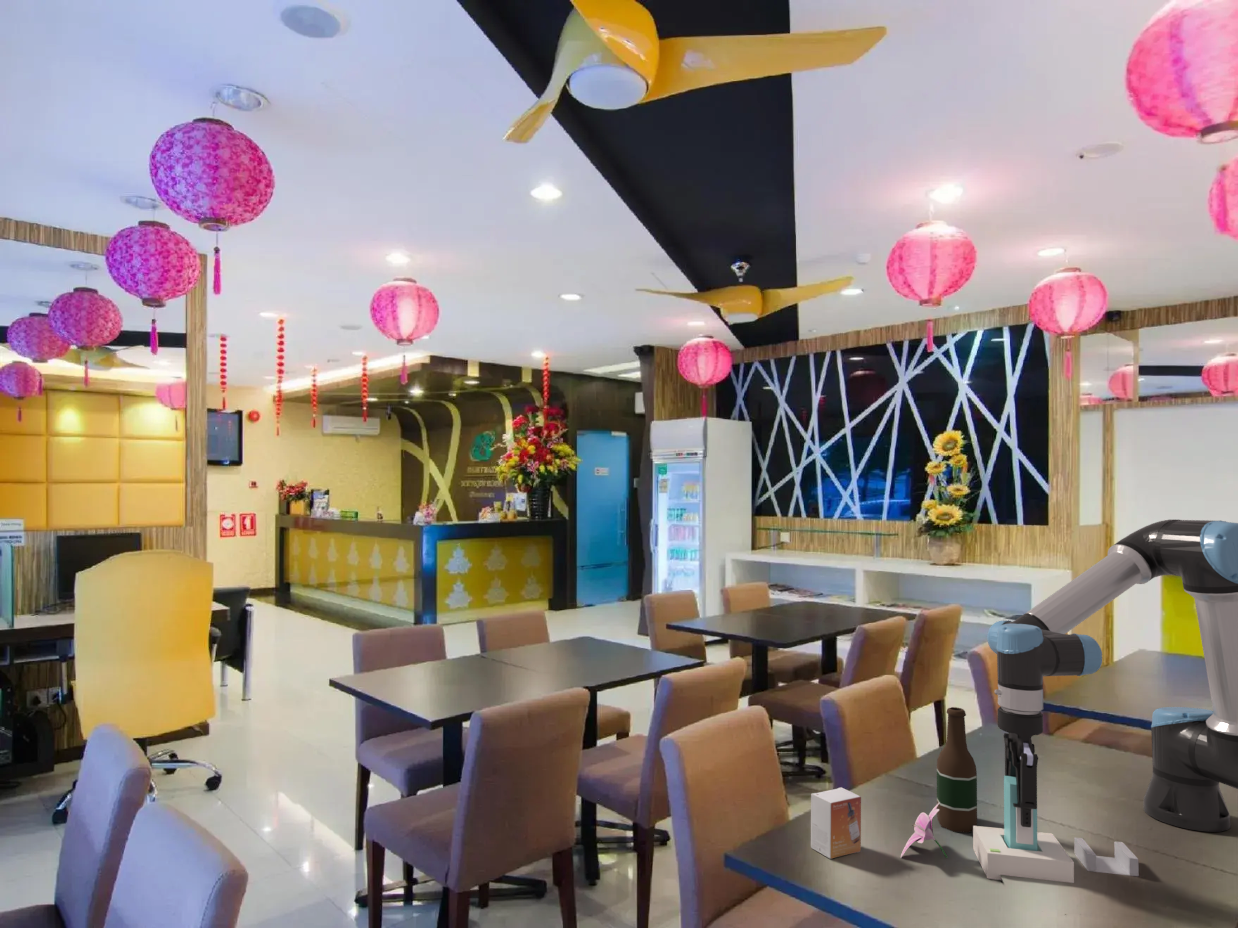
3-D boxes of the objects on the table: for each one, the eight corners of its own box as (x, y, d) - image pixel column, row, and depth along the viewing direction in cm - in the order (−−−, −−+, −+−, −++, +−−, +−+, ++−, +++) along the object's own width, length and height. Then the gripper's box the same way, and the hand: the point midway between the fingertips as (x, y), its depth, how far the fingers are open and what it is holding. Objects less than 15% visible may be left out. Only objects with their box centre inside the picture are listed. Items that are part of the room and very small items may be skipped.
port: (1052, 857, 149) (1052, 832, 149) (1074, 888, 137) (1073, 860, 137) (973, 848, 152) (973, 824, 152) (987, 878, 140) (987, 851, 140)
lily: (927, 841, 157) (901, 797, 159) (979, 838, 149) (952, 791, 150) (900, 879, 149) (874, 832, 150) (954, 877, 141) (926, 828, 142)
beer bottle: (974, 836, 157) (973, 715, 158) (933, 827, 162) (932, 709, 162) (979, 823, 164) (979, 707, 165) (940, 814, 168) (939, 701, 169)
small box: (830, 860, 147) (830, 803, 147) (809, 847, 152) (810, 792, 152) (862, 851, 150) (862, 795, 151) (841, 840, 155) (841, 786, 156)
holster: (1122, 863, 146) (1122, 842, 147) (1138, 881, 140) (1138, 858, 140) (1074, 858, 148) (1074, 837, 148) (1087, 876, 141) (1087, 853, 142)
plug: (1030, 842, 146) (1029, 777, 147) (1037, 853, 142) (1037, 786, 142) (1004, 840, 147) (1003, 775, 148) (1010, 850, 143) (1010, 783, 143)
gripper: (987, 695, 155) (987, 815, 154) (1010, 720, 138) (1010, 855, 137) (1028, 698, 153) (1029, 819, 152) (1057, 723, 136) (1058, 860, 135)
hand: (1020, 836), depth 145 cm, fingers closed on plug, 4 cm apart
